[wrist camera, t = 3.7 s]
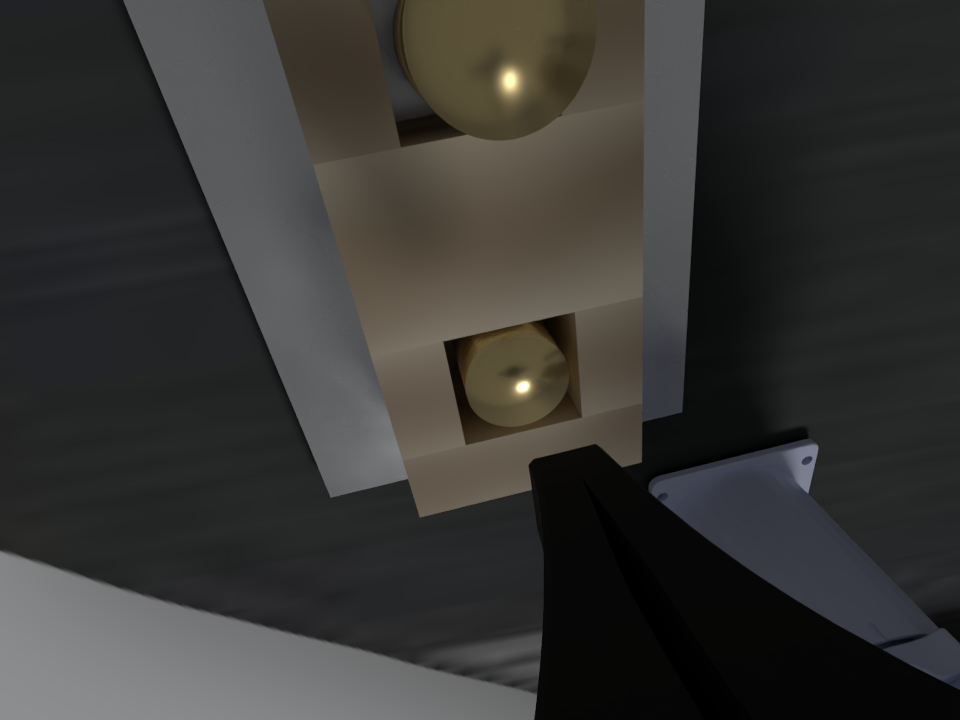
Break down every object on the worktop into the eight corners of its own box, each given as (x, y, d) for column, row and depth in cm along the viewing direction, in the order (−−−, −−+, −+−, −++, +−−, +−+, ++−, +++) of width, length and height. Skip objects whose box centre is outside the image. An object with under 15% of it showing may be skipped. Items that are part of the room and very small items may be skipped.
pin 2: (537, 351, 18) (572, 413, 15) (456, 369, 18) (475, 436, 15) (529, 274, 17) (565, 326, 14) (440, 293, 17) (457, 351, 14)
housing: (595, 391, 20) (641, 462, 17) (410, 435, 20) (419, 517, 16) (565, -203, 12) (646, -300, 8) (242, -154, 11) (190, -236, 8)
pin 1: (538, 100, 12) (599, 122, 9) (409, 125, 11) (426, 156, 8) (524, -63, 10) (592, -107, 7) (376, -38, 10) (381, -71, 7)
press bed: (670, 398, 22) (682, 412, 22) (332, 479, 21) (330, 497, 21) (699, -335, 12) (725, -364, 11) (38, -246, 11) (10, -269, 10)
